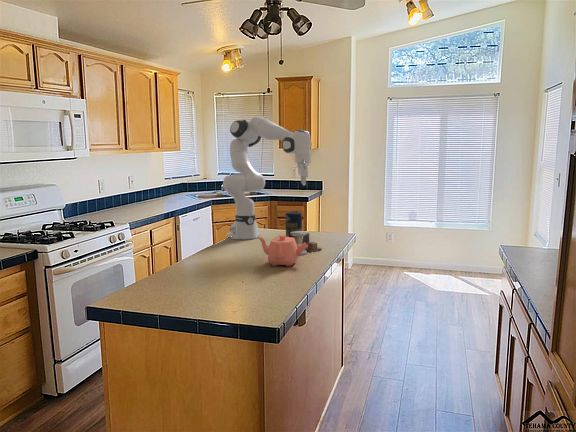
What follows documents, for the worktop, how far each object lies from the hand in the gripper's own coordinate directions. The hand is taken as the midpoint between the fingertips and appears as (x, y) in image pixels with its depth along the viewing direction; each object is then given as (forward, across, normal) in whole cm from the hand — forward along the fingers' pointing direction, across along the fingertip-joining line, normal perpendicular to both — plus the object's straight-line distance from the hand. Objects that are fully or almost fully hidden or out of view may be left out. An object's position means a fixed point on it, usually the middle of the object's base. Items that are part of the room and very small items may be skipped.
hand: (303, 184), depth 253 cm
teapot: (+34, -42, +14) cm, 55 cm away
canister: (+34, +7, +5) cm, 35 cm away
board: (+34, -12, 0) cm, 36 cm away
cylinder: (+33, -12, 0) cm, 35 cm away
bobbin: (+34, -23, +5) cm, 41 cm away
